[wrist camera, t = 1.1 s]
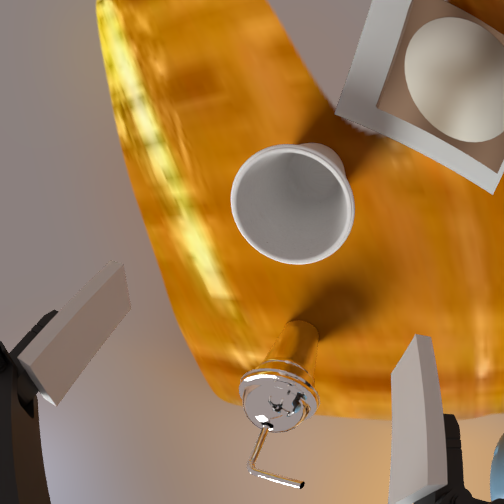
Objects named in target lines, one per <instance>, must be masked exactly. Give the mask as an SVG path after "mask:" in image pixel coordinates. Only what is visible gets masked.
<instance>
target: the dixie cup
mask: <svg viewBox="0 0 504 504" xmlns="http://www.w3.org/2000/svg"><path fill="white" fill-rule="evenodd" d="M231 208H232V213H233V216H234V219H235V222H236V224H237V226H238V228H239V230H240V232H241V233H242V235H243V236H244V238H245V239H246V240H247V241H248V242H249V243H250V244H251V245H252V246H253V247H254V248H255V249H256V250H258V251H259V252H260V253H262V254H264V255H265V256H267V257H269V258H271V259H274V260H276V261H279V262H283V263H288V264H308V263H313V262H317V261H320V260H322V259H324V258H326V257H328V256H330V255H331V254H333V253H334V252H335V251H336V250H338V249H339V248H340V247H341V245H342V244H343V243H344V242H345V240H346V239H347V237H348V235H349V233H350V231H351V228H352V225H353V222H354V215H355V203H354V197H353V193H352V190H351V187H350V185H349V182H348V181H347V179H346V174H345V170H344V166H343V163H342V161H341V159H340V157H339V156H338V155H337V153H336V152H335V151H333V150H332V149H331V148H329V147H327V146H325V145H323V144H319V143H305V144H300V145H294V144H282V145H275V146H271V147H268V148H265V149H263V150H261V151H259V152H257V153H255V154H254V155H253V156H251V157H250V158H249V159H248V160H247V161H246V162H245V163H244V164H243V165H242V167H241V168H240V169H239V171H238V173H237V175H236V177H235V179H234V182H233V186H232V191H231Z"/></svg>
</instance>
